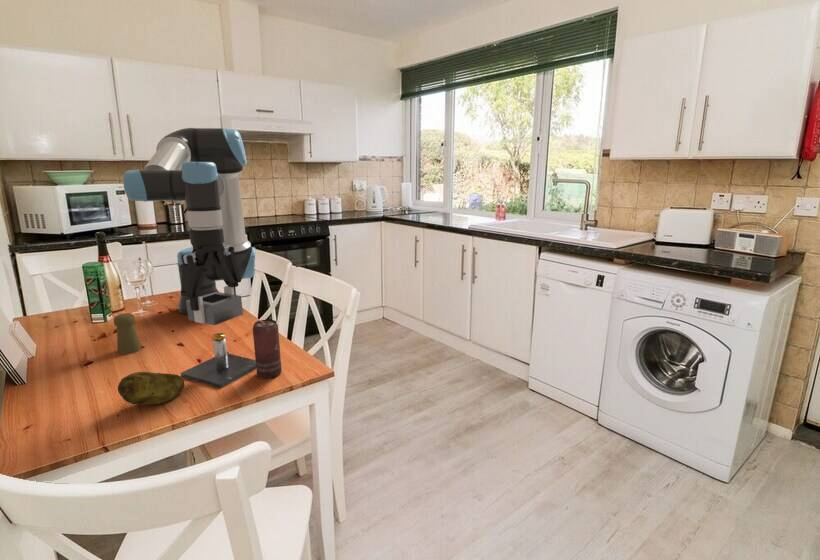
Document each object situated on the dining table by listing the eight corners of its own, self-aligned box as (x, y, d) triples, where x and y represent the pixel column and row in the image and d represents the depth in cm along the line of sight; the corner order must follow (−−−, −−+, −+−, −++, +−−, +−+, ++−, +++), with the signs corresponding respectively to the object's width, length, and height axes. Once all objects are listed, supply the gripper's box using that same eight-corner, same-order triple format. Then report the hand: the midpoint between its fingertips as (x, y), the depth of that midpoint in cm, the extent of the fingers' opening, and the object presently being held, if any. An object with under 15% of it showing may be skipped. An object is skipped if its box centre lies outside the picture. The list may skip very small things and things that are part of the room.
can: (268, 366, 119) (264, 317, 115) (286, 371, 116) (282, 321, 112) (251, 375, 113) (246, 324, 110) (269, 381, 111) (265, 328, 107)
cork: (130, 355, 125) (123, 318, 122) (112, 353, 126) (105, 317, 124) (146, 346, 131) (140, 311, 128) (129, 345, 132) (123, 310, 129)
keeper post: (224, 355, 125) (220, 322, 122) (262, 365, 119) (259, 330, 117) (181, 376, 113) (175, 340, 110) (221, 388, 107) (216, 349, 104)
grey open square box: (217, 309, 118) (215, 291, 117) (242, 314, 114) (241, 295, 113) (188, 320, 110) (186, 300, 109) (214, 325, 106) (212, 305, 105)
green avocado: (188, 402, 101) (184, 370, 99) (121, 419, 94) (115, 385, 92) (184, 387, 107) (180, 357, 105) (122, 401, 101) (116, 369, 99)
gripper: (230, 222, 118) (238, 302, 123) (153, 232, 98) (167, 327, 104) (251, 223, 114) (258, 306, 120) (176, 234, 95) (189, 332, 101)
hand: (216, 316), depth 112 cm, fingers closed on grey open square box, 9 cm apart
